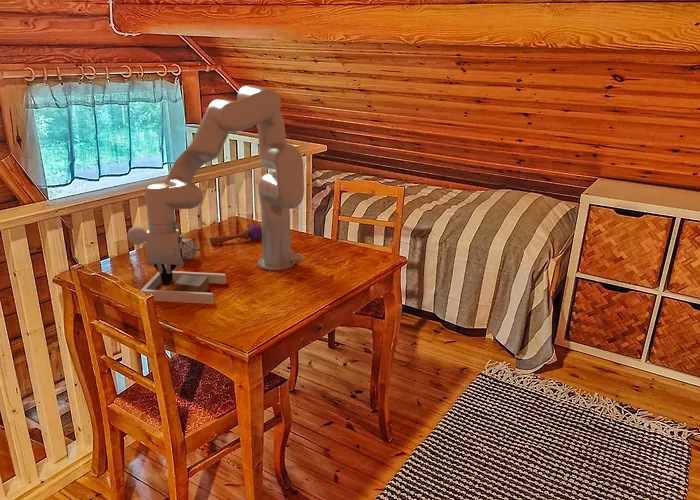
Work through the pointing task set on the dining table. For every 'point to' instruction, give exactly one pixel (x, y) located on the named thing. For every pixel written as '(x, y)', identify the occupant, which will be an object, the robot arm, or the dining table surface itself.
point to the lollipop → (137, 238)
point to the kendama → (240, 235)
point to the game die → (189, 248)
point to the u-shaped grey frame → (183, 295)
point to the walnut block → (192, 283)
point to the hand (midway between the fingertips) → (167, 283)
